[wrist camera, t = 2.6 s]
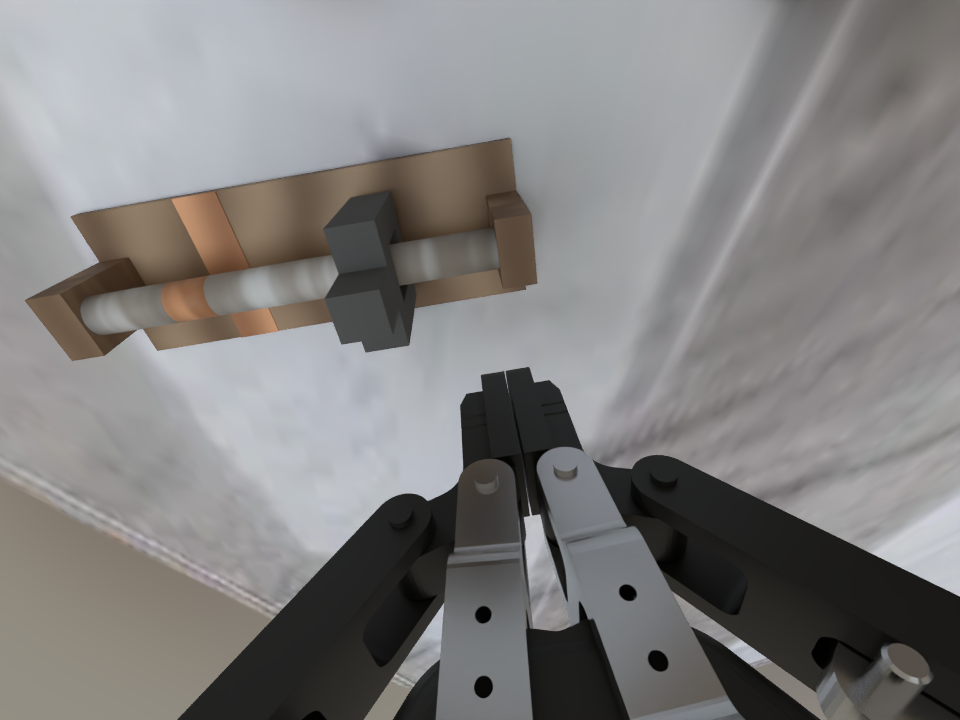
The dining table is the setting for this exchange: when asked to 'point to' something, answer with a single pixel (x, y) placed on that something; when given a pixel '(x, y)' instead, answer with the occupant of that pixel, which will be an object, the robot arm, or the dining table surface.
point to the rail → (288, 251)
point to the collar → (368, 275)
